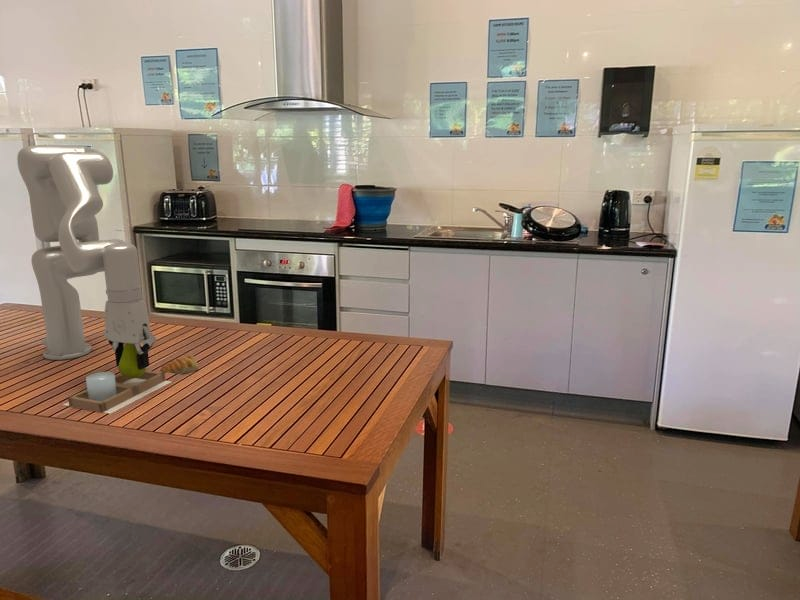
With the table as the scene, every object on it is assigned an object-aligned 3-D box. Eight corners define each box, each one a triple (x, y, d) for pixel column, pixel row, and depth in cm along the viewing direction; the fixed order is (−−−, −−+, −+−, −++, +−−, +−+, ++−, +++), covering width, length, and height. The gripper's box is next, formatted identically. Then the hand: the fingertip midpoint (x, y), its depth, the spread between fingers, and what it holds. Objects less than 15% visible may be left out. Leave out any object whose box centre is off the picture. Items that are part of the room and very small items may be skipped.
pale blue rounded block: (83, 403, 137) (79, 379, 136) (103, 394, 143) (100, 370, 141) (103, 407, 135) (100, 382, 134) (123, 397, 141) (120, 373, 139)
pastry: (167, 379, 155) (165, 366, 154) (156, 373, 160) (154, 360, 159) (200, 370, 162) (199, 357, 161) (188, 364, 166) (187, 351, 166)
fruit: (130, 383, 143) (124, 336, 140) (114, 378, 146) (109, 332, 144) (153, 375, 149) (148, 329, 146) (137, 370, 152) (132, 325, 149)
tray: (63, 409, 137) (61, 396, 136) (128, 379, 155) (127, 367, 154) (110, 418, 132) (109, 405, 132) (172, 386, 151) (171, 374, 150)
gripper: (84, 295, 142) (93, 367, 146) (142, 301, 136) (150, 375, 141) (109, 289, 149) (117, 357, 153) (164, 294, 143) (171, 365, 147)
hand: (132, 365), depth 147 cm, fingers closed on fruit, 5 cm apart
